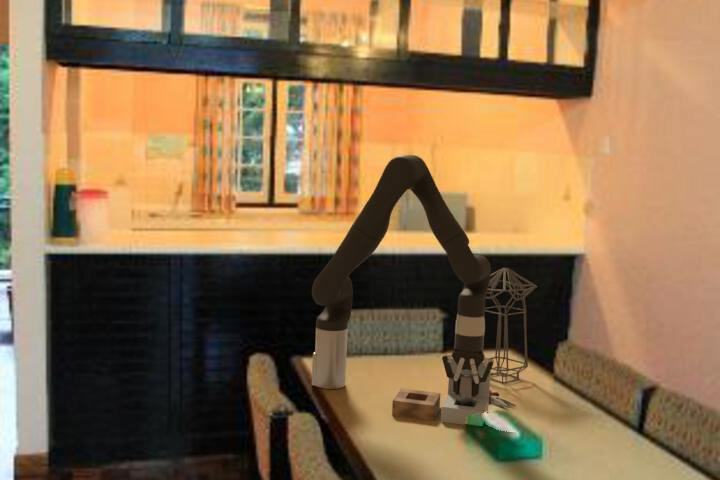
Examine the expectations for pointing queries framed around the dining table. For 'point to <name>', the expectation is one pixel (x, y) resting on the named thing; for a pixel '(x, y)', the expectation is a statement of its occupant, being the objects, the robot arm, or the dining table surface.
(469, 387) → the steel rod
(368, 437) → the dining table surface
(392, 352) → the dining table surface
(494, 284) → the geometric lantern
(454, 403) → the block
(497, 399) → the pliers
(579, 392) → the dining table surface
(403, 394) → the socket block
